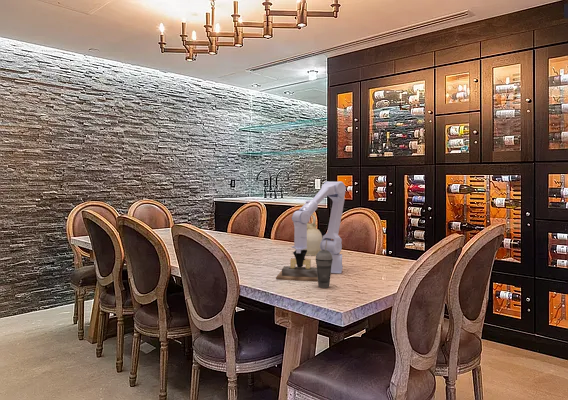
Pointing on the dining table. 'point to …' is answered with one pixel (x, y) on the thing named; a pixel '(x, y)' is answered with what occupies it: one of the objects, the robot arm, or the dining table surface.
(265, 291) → the dining table surface
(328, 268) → the beverage cup
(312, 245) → the jug
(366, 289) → the dining table surface
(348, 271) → the dining table surface
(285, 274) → the rail board
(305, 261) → the pine wood offcut
